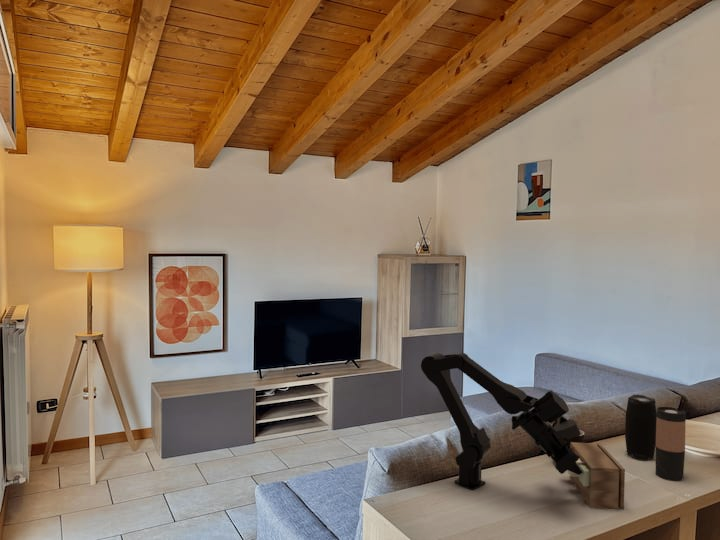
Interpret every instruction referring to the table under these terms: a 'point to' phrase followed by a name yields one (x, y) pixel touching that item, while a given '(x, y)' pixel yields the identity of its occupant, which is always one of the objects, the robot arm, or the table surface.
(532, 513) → the table surface
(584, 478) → the key sage
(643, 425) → the portable speaker
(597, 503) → the key panel
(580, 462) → the key cream
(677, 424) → the travel mug
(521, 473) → the table surface
